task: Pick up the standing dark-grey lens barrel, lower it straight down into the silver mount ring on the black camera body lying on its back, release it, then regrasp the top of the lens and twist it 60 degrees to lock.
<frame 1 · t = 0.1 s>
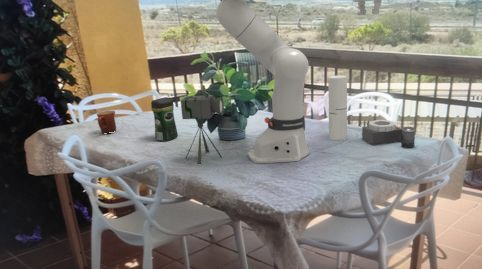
hand: (369, 14, 142), 48 cm above the table, tool pointing down, fingers open, 8 cm apart
cylindrical container: (337, 137, 166), on the table
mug: (107, 134, 198), on the table
camera: (205, 158, 152), on the table
coffee jar: (166, 139, 182), on the table
lens: (407, 146, 149), on the table
camera body: (381, 140, 158), on the table
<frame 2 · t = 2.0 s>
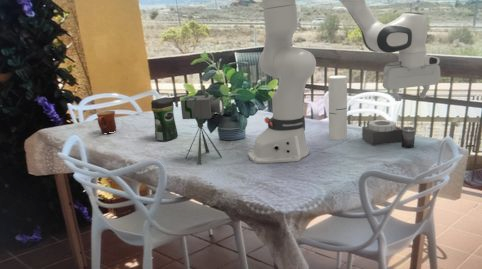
hand: (410, 99, 144), 18 cm above the table, tool pointing down, fingers open, 8 cm apart
nothing on the table moved.
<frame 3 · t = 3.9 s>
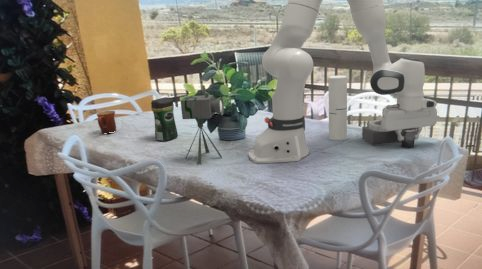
hand: (408, 139, 149), 3 cm above the table, tool pointing down, fingers closed on lens, 4 cm apart
lens: (407, 146, 149), on the table, touching gripper
everything else where it was.
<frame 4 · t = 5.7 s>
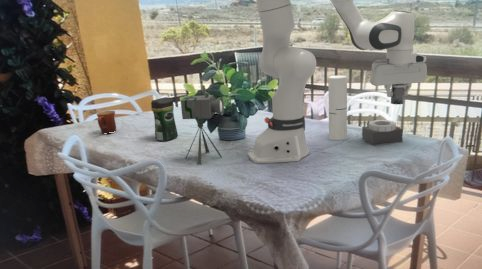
hand: (397, 96, 148), 18 cm above the table, tool pointing down, fingers closed on lens, 4 cm apart
lens: (397, 103, 148), point 16 cm above the table, touching gripper
everything else where it was.
when the fingers open (9 cm above the table, at t = 7.9 s): lens stays where it is, resting on camera body.
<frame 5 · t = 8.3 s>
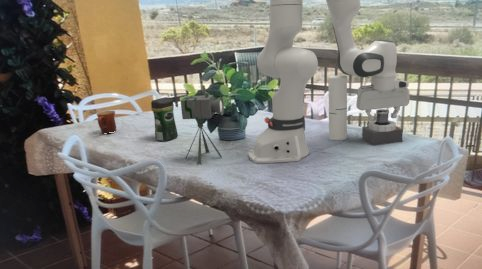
hand: (382, 119, 156), 9 cm above the table, tool pointing down, fingers open, 8 cm apart
lens: (381, 128, 157), point 5 cm above the table, touching camera body
everything else where it was.
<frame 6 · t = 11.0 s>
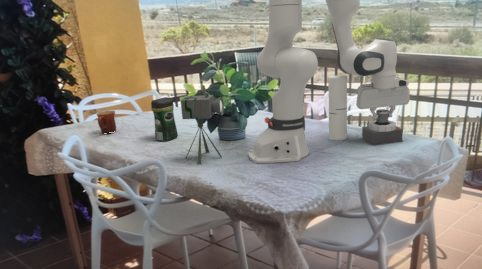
hand: (382, 117, 156), 9 cm above the table, tool pointing down, fingers closed on lens, 4 cm apart
lens: (381, 128, 157), point 5 cm above the table, touching camera body, gripper
everything else where it was.
when the fingers open (9 cm above the table, at t = 12.1 s): lens stays where it is, resting on camera body.
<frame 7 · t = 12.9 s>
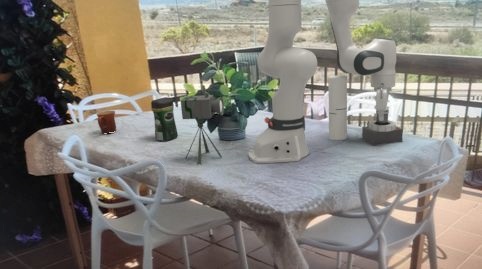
hand: (381, 117, 156), 9 cm above the table, tool pointing down, fingers open, 8 cm apart
lens: (381, 128, 157), point 5 cm above the table, touching camera body
everything else where it was.
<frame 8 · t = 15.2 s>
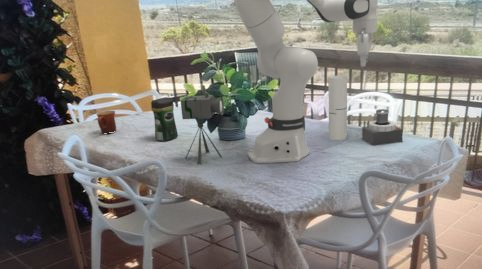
hand: (364, 64, 157), 29 cm above the table, tool pointing down, fingers open, 8 cm apart
nothing on the table moved.
at the end: lens 0.1 cm off-centre on the camera body, point 5.0 cm above the camera body's base; lens tilted 0°; the gripper is holding nothing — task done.
